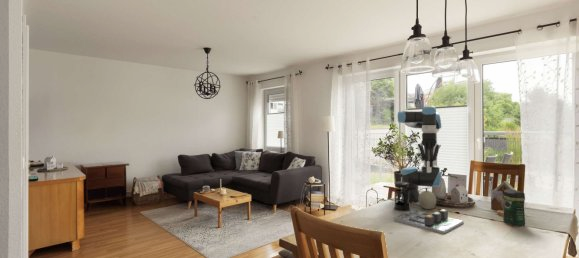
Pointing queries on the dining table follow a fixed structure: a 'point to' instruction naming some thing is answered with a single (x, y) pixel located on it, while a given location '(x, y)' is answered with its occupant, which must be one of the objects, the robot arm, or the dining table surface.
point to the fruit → (427, 199)
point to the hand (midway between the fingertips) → (429, 172)
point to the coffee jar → (514, 207)
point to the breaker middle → (437, 216)
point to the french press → (401, 205)
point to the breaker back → (444, 214)
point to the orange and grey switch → (429, 220)
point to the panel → (418, 220)
